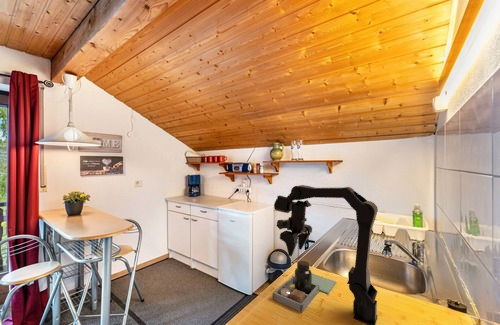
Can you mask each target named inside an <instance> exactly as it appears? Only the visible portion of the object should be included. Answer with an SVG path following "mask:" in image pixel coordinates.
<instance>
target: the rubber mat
mask: <svg viewBox="0 0 500 325" xmlns="http://www.w3.org/2000/svg"><path fill="white" fill-rule="evenodd" d="M312 283H314V284H317V285H319V292H321V293H324V294H327V295H329V294H330V292H331V291H332V290H333V288H334V287H335V285H336V284H337V281H335V280H332V279H330V278H327V277H324V276H320V275H317V274H314V273H312Z"/></svg>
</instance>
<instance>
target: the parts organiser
mask: <svg viewBox="0 0 500 325" xmlns="http://www.w3.org/2000/svg"><path fill="white" fill-rule="evenodd" d="M293 284H295V275H292V276H291V277H290V278H288V280H286V281H285V282H284V283H282V284H281V286H279V287H278V288H276V290H274V291H273V292H272V300H273V301H275V302H277V303H279V304H281V305H284V306H286V307H289V308H291V309H293V310H296V311H297V312H299V313H304V311H305V310H306V309H307V307H308V306H309V305H310V304H311V303H312V301H313V300H314V299H315V297H317V295H318V294H319V292H320V291H319V285H317V284H314V283H312V292H311V293H310V294H309V295H308V294H305V300H304V301H303V302H302V303H298V302H296V301H294V300H292V299H289V298H287V297H285V296H282V295H281V289H282V288H288V289H290V290H291V293H292V292H293V291H294V290H295V288H293V287H291V286H292V285H293Z"/></svg>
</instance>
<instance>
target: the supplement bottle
mask: <svg viewBox="0 0 500 325" xmlns="http://www.w3.org/2000/svg"><path fill="white" fill-rule="evenodd" d="M312 274H313V273H312V271H311V269H310V262H308V261H306V260H299V261H297V263H296V268H295V270H294V276H295V283H294V288H293V289H297V290H299V291H302V292H304V293H305V294H308V295H309V294H310V293H311V292H312V291H313V290H312Z"/></svg>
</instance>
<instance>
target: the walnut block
mask: <svg viewBox="0 0 500 325" xmlns="http://www.w3.org/2000/svg"><path fill="white" fill-rule="evenodd" d="M294 289H295V288H294ZM290 299H292V300H294V301H296V302H298V303H302V302H303V301H304V300H305V293H304V292H302V291H299V290H297V289H295V290H294V291H293V292H292V293H291V297H290Z"/></svg>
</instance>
